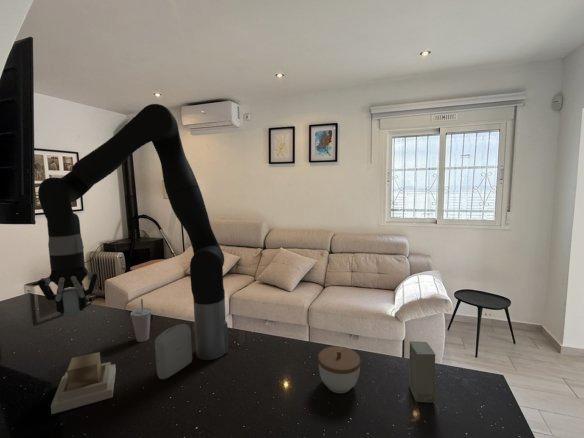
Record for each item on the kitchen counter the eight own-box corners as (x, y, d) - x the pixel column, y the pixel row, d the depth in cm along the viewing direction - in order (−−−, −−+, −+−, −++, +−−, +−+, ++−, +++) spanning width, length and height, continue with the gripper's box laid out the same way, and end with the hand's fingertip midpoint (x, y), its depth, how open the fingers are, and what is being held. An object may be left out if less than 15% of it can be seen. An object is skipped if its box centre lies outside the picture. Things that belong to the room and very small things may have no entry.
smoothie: (147, 344, 99) (144, 303, 97) (128, 344, 99) (125, 303, 97) (156, 334, 105) (154, 295, 103) (138, 334, 105) (135, 295, 104)
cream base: (115, 370, 85) (114, 358, 84) (112, 397, 74) (111, 384, 74) (63, 383, 79) (62, 371, 79) (51, 414, 69) (50, 400, 68)
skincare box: (434, 403, 71) (436, 355, 70) (415, 402, 71) (417, 354, 70) (425, 386, 77) (427, 341, 76) (407, 385, 78) (409, 340, 76)
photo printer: (164, 381, 80) (161, 337, 78) (154, 376, 82) (151, 333, 80) (194, 362, 88) (192, 322, 87) (184, 358, 91) (182, 318, 89)
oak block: (101, 373, 80) (99, 352, 80) (98, 386, 75) (96, 363, 74) (74, 379, 78) (72, 358, 77) (69, 394, 72) (67, 370, 72)
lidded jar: (350, 370, 84) (351, 338, 83) (366, 397, 74) (367, 360, 72) (313, 374, 82) (313, 342, 81) (324, 402, 72) (324, 365, 71)
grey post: (82, 309, 87) (80, 286, 86) (80, 315, 83) (77, 290, 83) (65, 312, 85) (63, 288, 84) (62, 318, 82) (59, 293, 81)
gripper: (28, 257, 76) (36, 322, 78) (95, 250, 82) (101, 311, 84) (37, 251, 82) (44, 311, 84) (98, 246, 89) (103, 301, 91)
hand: (72, 310), depth 84 cm, fingers closed on grey post, 4 cm apart
